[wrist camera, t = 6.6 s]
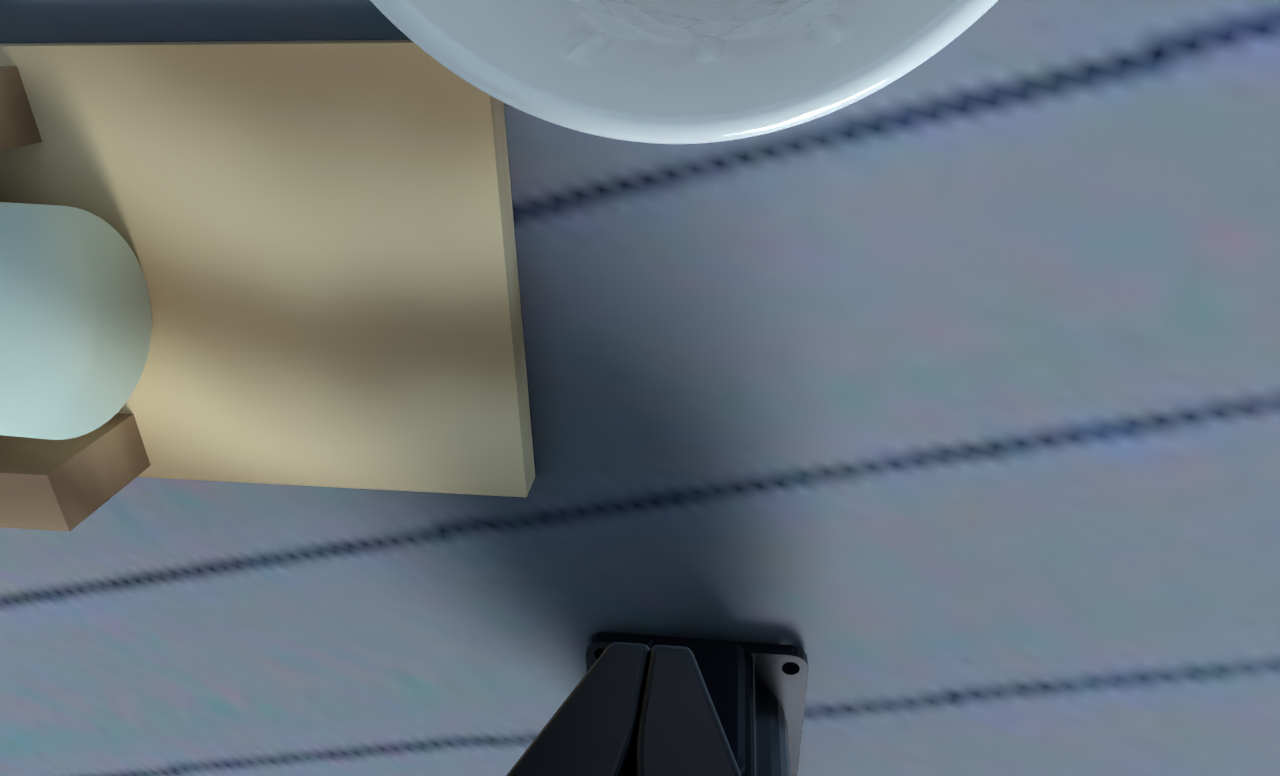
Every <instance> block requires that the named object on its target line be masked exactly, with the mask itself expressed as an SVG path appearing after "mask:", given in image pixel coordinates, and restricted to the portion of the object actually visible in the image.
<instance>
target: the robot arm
mask: <svg viewBox="0 0 1280 776" xmlns="http://www.w3.org/2000/svg"><path fill="white" fill-rule="evenodd" d="M599 648H604V649H605V650H604V651H602V650H600V649H599ZM586 661H587V673H586V675H585V676H584V677H583V679H582V680H581V681H580V682H579V684H578V685H577V686H576V687H575V689H574V690H573V691H572V693H571V694H570V695H569V696H568V698H567V699H566V700H565V701H564V703H563V704H562V705H561V707H560V708H559V709H558V710H557V712H556V713H555V714H554V716H553V717H552V718H551V719H550V721H549V722H548V723H547V724H546V726H545V727H544V728H543V730H542V731H541V732H540V733H539V735H538V736H537V737H536V738H535V740H534V741H533V742H532V744H531V745H530V746H529V747H528V749H527V750H526V751H525V752H524V754H523V755H522V756H521V758H520V759H519V760H518V761H517V763H516V764H515V765H514V767H513V768H512V769H511V770H510V772H509V773H508V774H507V775H506V776H797V771H798V762H799V752H800V743H801V734H802V724H803V715H804V706H805V696H806V687H807V678H808V661H807V654H806V653H805V652H804V650H802V649H801V648H799V647H796V646H792V645H778V644H764V643H750V642H736V641H722V640H707V639H693V638H679V637H665V636H651V635H637V634H622V633H608V632H601V633H596V634H594V635H592V636H591V638H590V639H589V642H588V647H587V651H586ZM787 662H794V663H795V664H792V665H788V664H785V663H787Z"/></svg>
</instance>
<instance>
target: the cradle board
mask: <svg viewBox="0 0 1280 776" xmlns="http://www.w3.org/2000/svg"><path fill="white" fill-rule="evenodd" d="M0 202H9V203H26V204H42V205H59V206H69V207H75V208H79V209H82V210H85V211H88V212H90V213H92V214H94V215H96V216H98V217H100V218H101V219H103V220H104V221H105V222H107V223H108V224H110V225H111V226H112V227H113V228H114V229H115V230H116V231H117V232H118V233H119V234H120V235H121V236H122V237H123V239H124V240H125V241H126V242H127V243H128V245H129V246H130V248H131V250H132V251H133V253H134V254H135V256H136V258H137V260H138V262H139V264H140V266H141V269H142V272H143V274H144V277H145V280H146V284H147V287H148V291H149V297H150V303H151V314H152V330H151V340H150V347H149V352H148V357H147V360H146V363H145V367H144V370H143V372H142V375H141V377H140V380H139V382H138V384H137V386H136V388H135V389H134V391H133V393H132V394H131V396H130V397H129V399H128V400H127V402H126V403H125V404H124V406H123V407H122V408H121V409H120V410H119V412H118V413H117V414H115V415H114V416H113V417H112V418H111V419H110V420H109V421H108V422H106V423H105V424H103V425H102V426H101V427H99V428H97V429H96V430H94V431H92V432H90V433H88V434H85V435H82V436H79V437H76V438H71V439H66V440H49V439H37V438H26V437H15V436H3V435H0V527H6V528H22V529H39V530H55V531H71V530H72V529H73V528H75V527H76V526H77V525H78V524H79V523H81V522H82V521H83V520H84V519H86V518H87V517H88V516H89V515H90V514H92V513H93V512H94V511H95V510H97V509H98V508H99V507H100V506H102V505H103V504H104V503H105V502H106V501H108V500H109V499H110V498H111V497H113V496H114V495H115V494H116V493H117V492H119V491H120V490H121V489H122V488H124V487H125V486H126V485H127V484H128V483H130V482H131V481H132V480H133V479H135V478H136V477H152V478H170V479H189V480H208V481H227V482H246V483H264V484H283V485H302V486H321V487H340V488H358V489H377V490H396V491H415V492H434V493H452V494H471V495H490V496H509V497H527V496H528V493H529V491H530V489H531V486H532V484H533V481H534V479H535V466H534V454H533V442H532V430H531V419H530V407H529V395H528V383H527V372H526V360H525V348H524V336H523V325H522V313H521V301H520V290H519V278H518V266H517V254H516V243H515V231H514V219H513V207H512V196H511V184H510V172H509V160H508V149H507V137H506V125H505V114H504V102H502V101H500V100H498V99H496V98H494V97H492V96H490V95H488V94H487V93H485V92H483V91H481V90H480V89H478V88H476V87H475V86H473V85H471V84H470V83H468V82H466V81H465V80H463V79H462V78H460V77H459V76H457V75H456V74H454V73H453V72H451V71H450V70H449V69H447V68H446V67H444V66H443V65H442V64H440V63H439V62H437V61H436V60H435V59H434V58H432V57H431V56H430V55H428V54H427V53H426V52H425V51H423V50H422V49H421V48H420V47H418V46H417V45H416V44H415V43H414V42H413V41H411V40H341V41H226V42H111V43H0Z"/></svg>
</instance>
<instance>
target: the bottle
mask: <svg viewBox="0 0 1280 776" xmlns="http://www.w3.org/2000/svg"><path fill="white" fill-rule="evenodd" d="M151 330H152V314H151V303H150V297H149V291H148V287H147V284H146V280H145V277H144V274H143V272H142V269H141V266H140V264H139V262H138V260H137V258H136V256H135V254H134V253H133V251H132V250H131V248H130V246H129V245H128V243H127V242H126V241H125V240H124V239H123V237H122V236H121V235H120V234H119V233H118V232H117V231H116V230H115V229H114V228H113V227H112V226H111V225H110V224H108V223H107V222H105V221H104V220H103V219H101V218H100V217H98V216H96V215H94V214H92V213H90V212H88V211H85V210H82V209H79V208H75V207H69V206H59V205H42V204H26V203H9V202H0V435H3V436H15V437H26V438H37V439H49V440H66V439H71V438H76V437H79V436H82V435H85V434H88V433H90V432H92V431H94V430H96V429H97V428H99V427H101V426H102V425H103V424H105V423H106V422H108V421H109V420H110V419H111V418H112V417H113V416H114V415H115V414H117V413H118V412H119V410H120V409H121V408H122V407H123V406H124V404H125V403H126V402H127V400H128V399H129V397H130V396H131V394H132V393H133V391H134V389H135V388H136V386H137V384H138V382H139V380H140V377H141V375H142V372H143V370H144V367H145V363H146V360H147V357H148V352H149V347H150V340H151Z"/></svg>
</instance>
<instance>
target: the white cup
mask: <svg viewBox="0 0 1280 776" xmlns="http://www.w3.org/2000/svg"><path fill="white" fill-rule="evenodd" d="M370 1H371V2H372V3H373V4H374V5H375V6H376V7H377V8H378V9H379V10H380V11H381V12H382V13H383V14H384V15H385V16H386V17H387V18H388V19H389V20H390V21H391V22H392V23H393V24H394V25H395V26H396V27H397V28H398V29H399V30H400V31H401V32H402V33H404V34H405V35H406V36H407V37H408V38H409V39H410V40H411V41H413V42H414V43H415V44H416V45H417V46H418V47H420V48H421V49H422V50H423V51H425V52H426V53H427V54H428V55H430V56H431V57H432V58H434V59H435V60H436V61H437V62H439V63H440V64H442V65H443V66H444V67H446V68H447V69H449V70H450V71H451V72H453V73H454V74H456V75H457V76H459V77H460V78H462V79H463V80H465V81H466V82H468V83H470V84H471V85H473V86H475V87H476V88H478V89H480V90H481V91H483V92H485V93H487V94H488V95H490V96H492V97H494V98H496V99H498V100H500V101H502V102H504V103H506V104H508V105H510V106H512V107H514V108H516V109H518V110H521V111H523V112H525V113H527V114H530V115H532V116H535V117H537V118H540V119H542V120H545V121H548V122H551V123H553V124H556V125H559V126H563V127H566V128H569V129H572V130H576V131H580V132H583V133H587V134H592V135H596V136H601V137H606V138H611V139H617V140H624V141H631V142H641V143H654V144H699V143H712V142H722V141H730V140H737V139H743V138H748V137H753V136H758V135H763V134H767V133H771V132H775V131H779V130H783V129H786V128H790V127H793V126H796V125H799V124H802V123H805V122H808V121H811V120H814V119H817V118H819V117H822V116H824V115H827V114H829V113H832V112H834V111H837V110H839V109H841V108H844V107H846V106H848V105H850V104H852V103H854V102H856V101H858V100H861V99H863V98H865V97H866V96H868V95H870V94H872V93H874V92H876V91H878V90H880V89H881V88H883V87H885V86H887V85H889V84H890V83H892V82H894V81H895V80H897V79H899V78H900V77H902V76H903V75H905V74H907V73H908V72H910V71H911V70H913V69H914V68H916V67H917V66H919V65H920V64H922V63H923V62H925V61H926V60H928V59H929V58H930V57H932V56H933V55H935V54H936V53H937V52H939V51H940V50H941V49H943V48H944V47H945V46H947V45H948V44H949V43H950V42H952V41H953V40H954V39H955V38H957V37H958V36H959V35H960V34H962V33H963V32H964V31H965V30H966V29H968V28H969V27H970V26H971V25H972V24H973V23H975V22H976V21H977V20H978V19H979V18H980V17H981V16H982V15H983V14H985V13H986V12H987V11H988V10H989V9H990V8H991V7H992V6H993V5H994V4H995V3H996V2H997V1H998V0H370Z"/></svg>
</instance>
